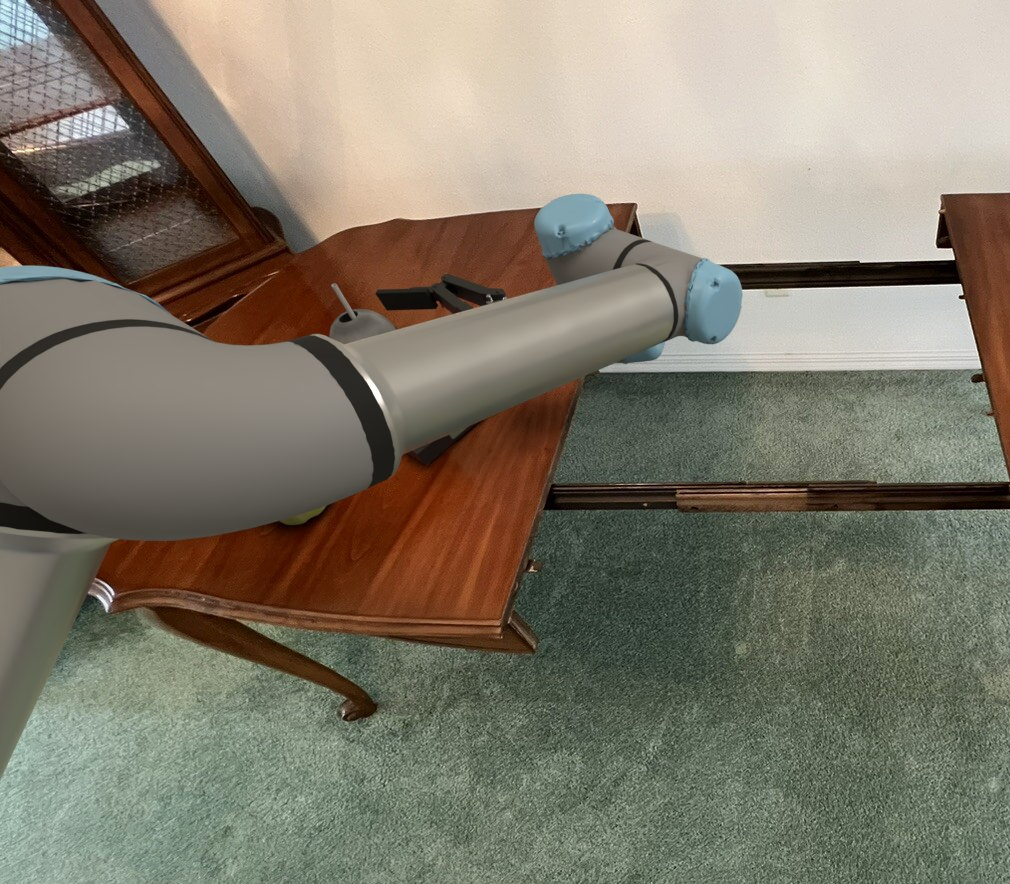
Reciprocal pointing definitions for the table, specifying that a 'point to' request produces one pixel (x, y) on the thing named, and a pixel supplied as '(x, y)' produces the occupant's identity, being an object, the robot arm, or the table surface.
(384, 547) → the table surface
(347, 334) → the beverage cup
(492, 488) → the table surface
